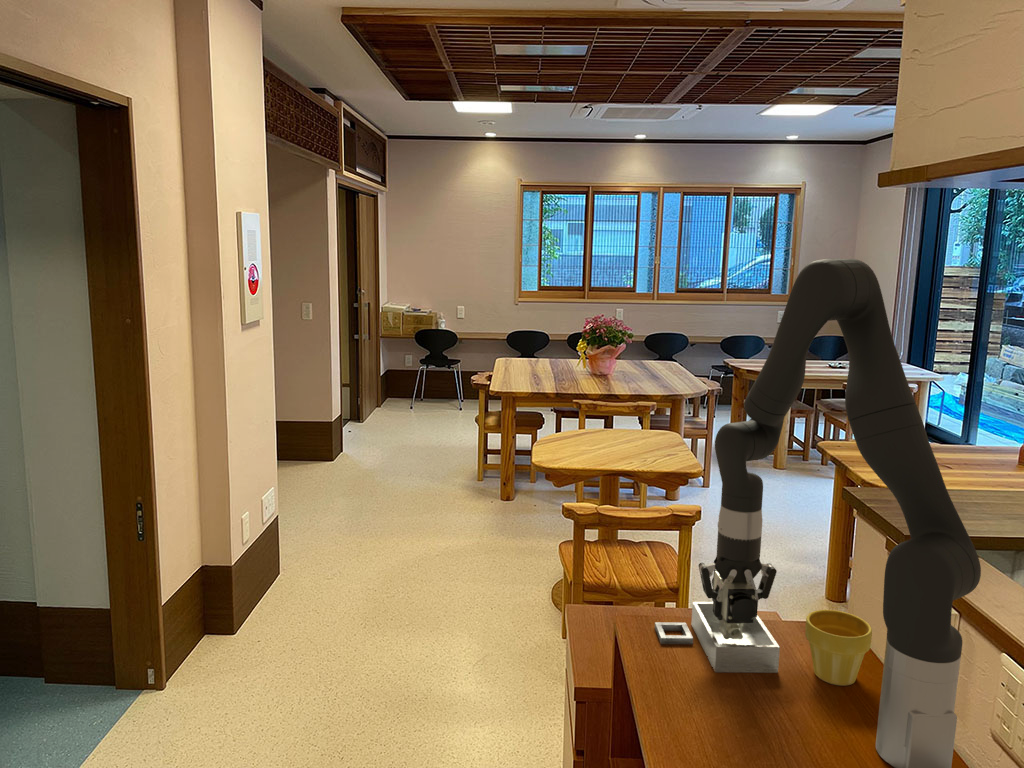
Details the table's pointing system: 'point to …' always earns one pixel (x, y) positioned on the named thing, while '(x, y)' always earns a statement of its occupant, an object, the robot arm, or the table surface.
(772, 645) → the seat cradle
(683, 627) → the gray square frame
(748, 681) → the table surface
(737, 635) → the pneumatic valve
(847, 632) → the plant pot
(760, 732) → the table surface
